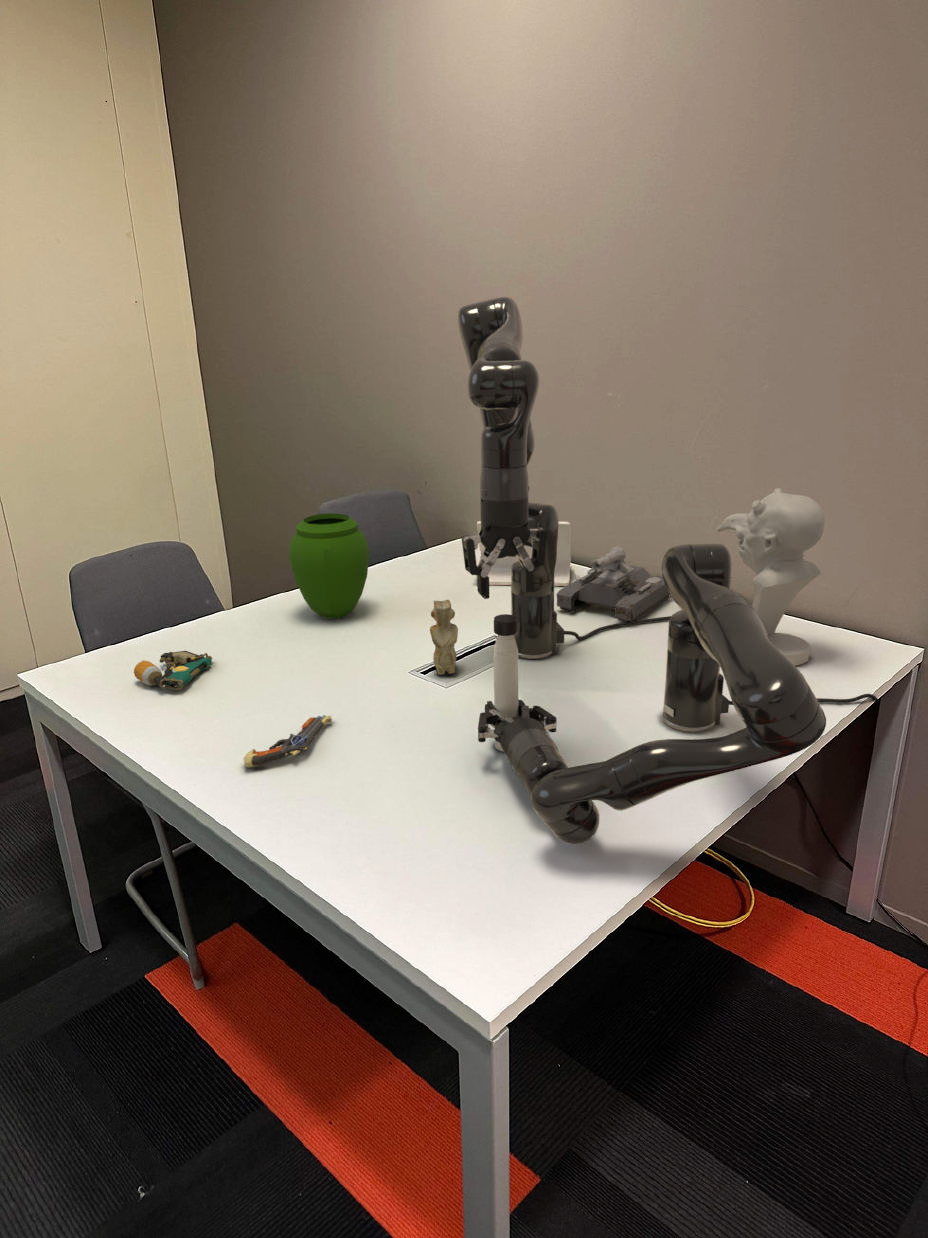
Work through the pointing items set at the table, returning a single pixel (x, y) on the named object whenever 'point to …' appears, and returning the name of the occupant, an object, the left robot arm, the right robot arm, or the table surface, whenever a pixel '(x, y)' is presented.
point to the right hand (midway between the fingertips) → (502, 704)
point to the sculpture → (444, 637)
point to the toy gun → (288, 743)
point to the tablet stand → (502, 566)
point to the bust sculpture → (779, 558)
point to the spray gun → (172, 669)
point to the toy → (615, 588)
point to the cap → (505, 625)
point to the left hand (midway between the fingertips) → (505, 594)
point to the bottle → (506, 678)
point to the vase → (329, 563)
